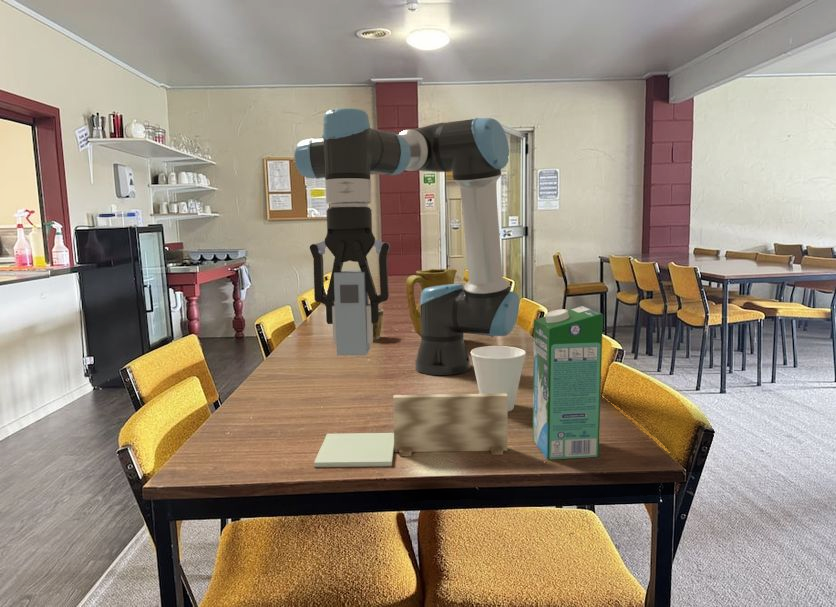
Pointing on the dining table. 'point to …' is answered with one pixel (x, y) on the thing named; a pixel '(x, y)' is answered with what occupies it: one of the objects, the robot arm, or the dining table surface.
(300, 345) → the dining table surface
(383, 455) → the mat
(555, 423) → the milk carton
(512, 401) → the cup
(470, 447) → the birch screen
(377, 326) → the ceramic cup
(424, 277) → the pitcher
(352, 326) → the block
